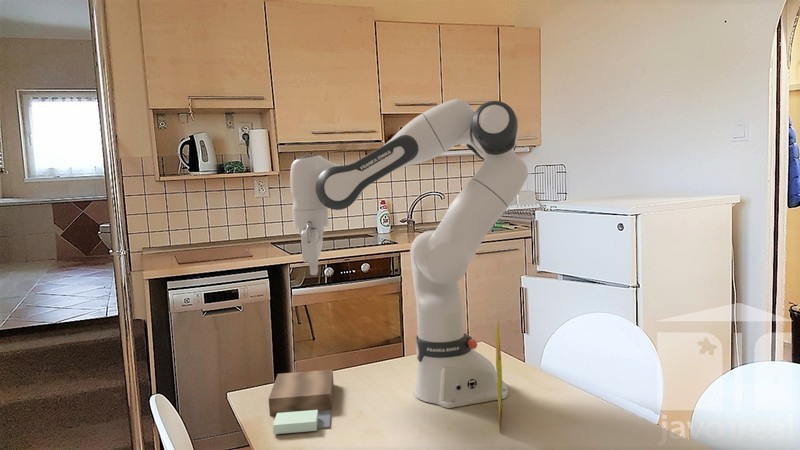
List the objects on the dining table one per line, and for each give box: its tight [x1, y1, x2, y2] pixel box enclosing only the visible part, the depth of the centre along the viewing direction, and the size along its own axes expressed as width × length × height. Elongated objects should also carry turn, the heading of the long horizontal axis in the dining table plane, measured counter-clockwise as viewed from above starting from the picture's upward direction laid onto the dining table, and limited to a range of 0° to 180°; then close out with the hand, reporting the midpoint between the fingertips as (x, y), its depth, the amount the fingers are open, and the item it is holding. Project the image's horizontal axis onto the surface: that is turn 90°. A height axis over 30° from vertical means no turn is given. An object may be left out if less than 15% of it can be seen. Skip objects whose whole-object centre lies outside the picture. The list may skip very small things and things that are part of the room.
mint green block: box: [272, 410, 318, 435], centre depth 123 cm, size 9×6×2 cm, turn 94°
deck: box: [268, 369, 335, 417], centre depth 139 cm, size 14×16×4 cm
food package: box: [495, 319, 503, 431], centre depth 122 cm, size 15×1×20 cm, turn 168°
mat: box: [272, 409, 332, 434], centre depth 126 cm, size 12×8×1 cm
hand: (314, 274), depth 145 cm, fingers closed
